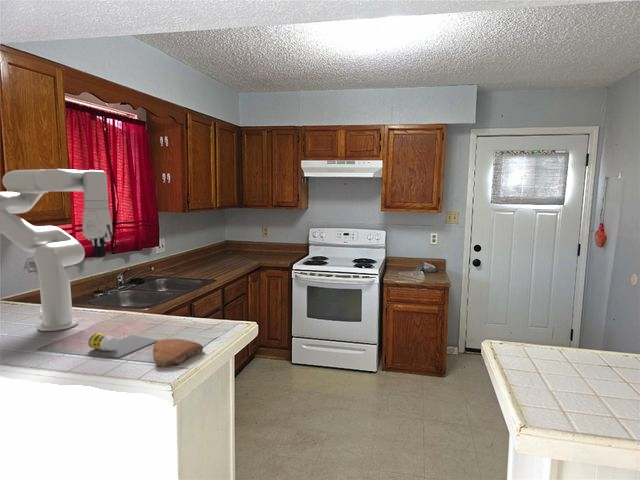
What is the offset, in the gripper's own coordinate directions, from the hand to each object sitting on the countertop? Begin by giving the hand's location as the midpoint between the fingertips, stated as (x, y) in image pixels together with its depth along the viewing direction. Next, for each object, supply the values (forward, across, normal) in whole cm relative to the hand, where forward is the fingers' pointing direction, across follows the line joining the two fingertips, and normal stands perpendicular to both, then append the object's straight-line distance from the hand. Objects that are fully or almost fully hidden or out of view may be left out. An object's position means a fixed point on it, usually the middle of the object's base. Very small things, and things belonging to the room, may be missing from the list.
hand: (100, 256), depth 149 cm
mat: (+27, +21, -9) cm, 35 cm away
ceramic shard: (+28, +41, -10) cm, 50 cm away
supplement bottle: (+24, +13, -14) cm, 31 cm away
